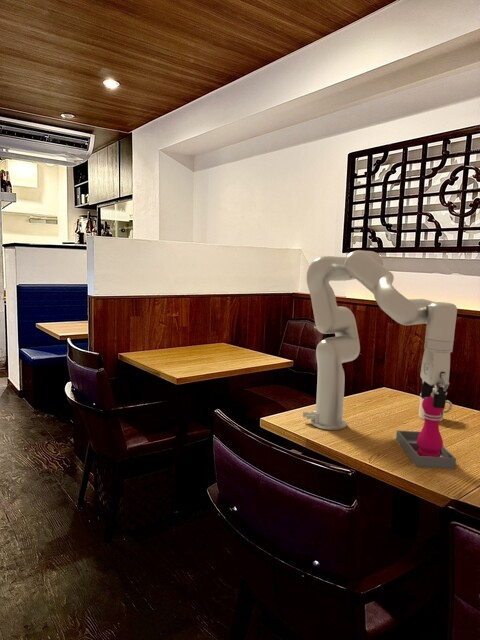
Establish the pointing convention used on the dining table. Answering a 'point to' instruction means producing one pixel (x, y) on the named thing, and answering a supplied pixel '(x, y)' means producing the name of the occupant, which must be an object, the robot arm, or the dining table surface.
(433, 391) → the teacup with lid
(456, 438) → the dining table surface
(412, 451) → the tray
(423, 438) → the pepper mill
